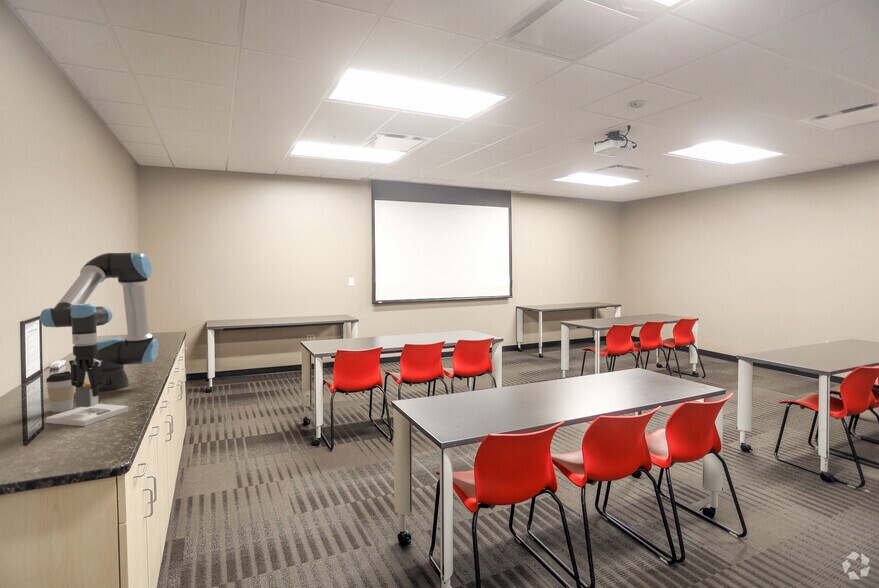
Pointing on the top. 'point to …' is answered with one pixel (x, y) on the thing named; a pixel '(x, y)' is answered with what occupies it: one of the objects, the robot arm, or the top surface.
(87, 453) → the top surface
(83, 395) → the plug
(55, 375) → the coffee cup
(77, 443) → the top surface
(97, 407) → the socket plate
